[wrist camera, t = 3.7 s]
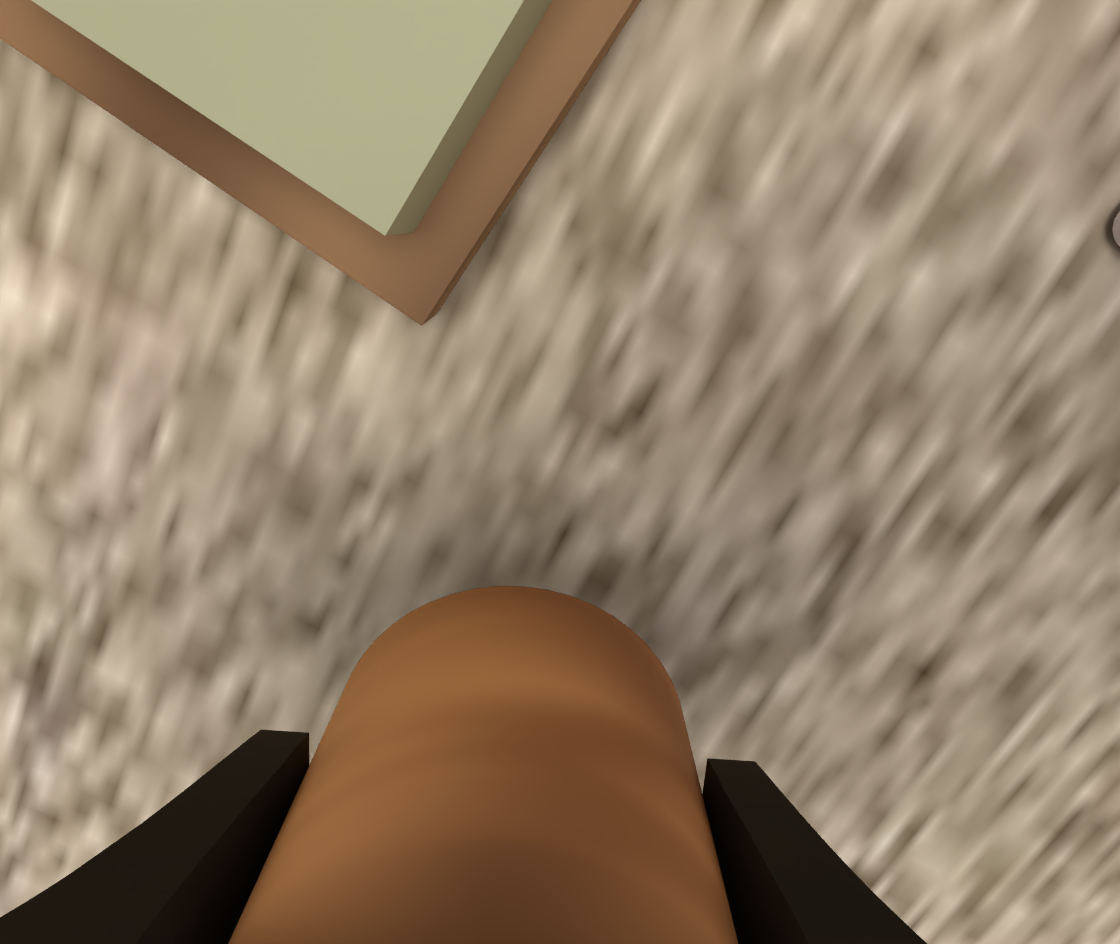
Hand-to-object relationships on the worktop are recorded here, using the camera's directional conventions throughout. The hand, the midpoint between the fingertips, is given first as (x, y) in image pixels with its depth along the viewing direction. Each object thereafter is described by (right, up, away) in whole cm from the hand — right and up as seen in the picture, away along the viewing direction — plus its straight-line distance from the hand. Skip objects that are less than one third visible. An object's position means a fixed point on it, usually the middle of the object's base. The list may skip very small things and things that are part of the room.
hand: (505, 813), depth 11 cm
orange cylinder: (0, 0, +1) cm, 2 cm away
